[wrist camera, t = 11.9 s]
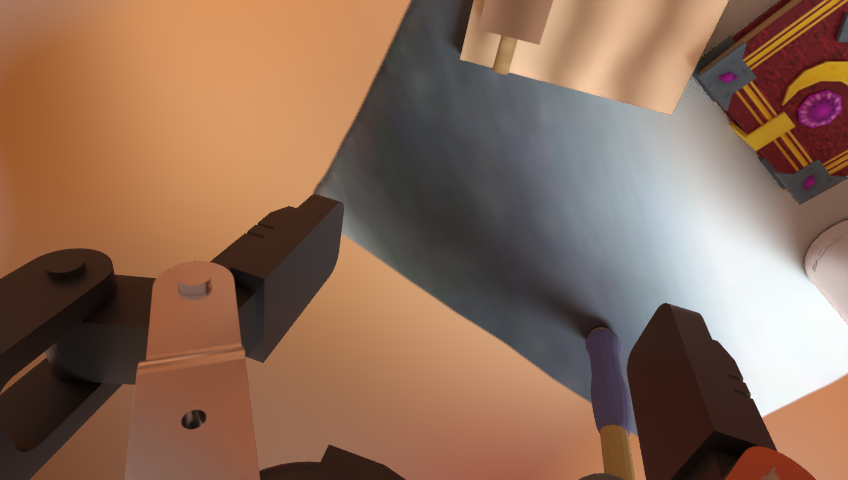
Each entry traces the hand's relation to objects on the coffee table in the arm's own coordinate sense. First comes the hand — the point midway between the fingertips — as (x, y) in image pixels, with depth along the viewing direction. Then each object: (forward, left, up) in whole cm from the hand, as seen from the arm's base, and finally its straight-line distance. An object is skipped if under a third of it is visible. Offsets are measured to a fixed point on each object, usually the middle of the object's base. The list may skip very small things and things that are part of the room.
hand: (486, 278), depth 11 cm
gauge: (+3, -4, -36) cm, 36 cm away
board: (-3, -4, -38) cm, 38 cm away
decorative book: (-23, -3, -39) cm, 45 cm away
